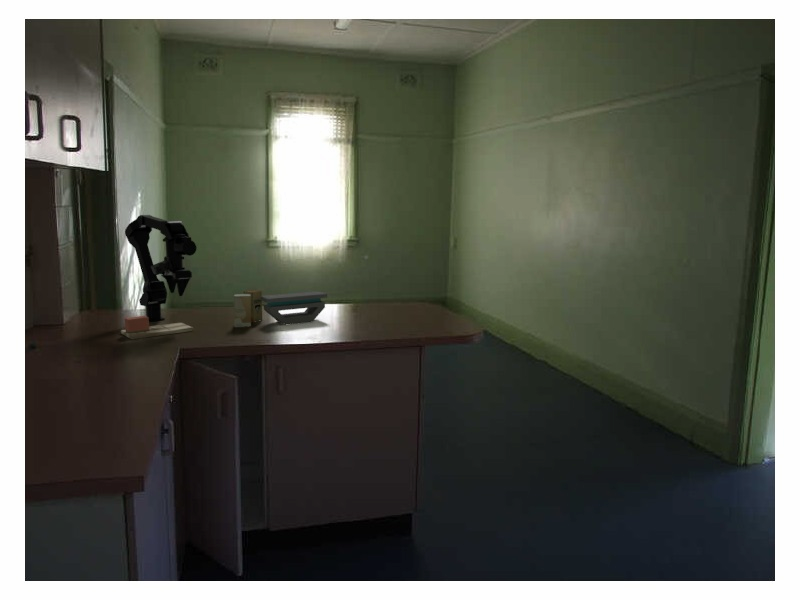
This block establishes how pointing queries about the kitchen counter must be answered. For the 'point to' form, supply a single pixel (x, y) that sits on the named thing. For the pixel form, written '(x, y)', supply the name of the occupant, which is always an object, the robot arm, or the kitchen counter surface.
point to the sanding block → (137, 324)
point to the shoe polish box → (255, 304)
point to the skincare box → (242, 310)
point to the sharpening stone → (295, 306)
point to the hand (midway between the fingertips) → (176, 294)
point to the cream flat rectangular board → (159, 330)
